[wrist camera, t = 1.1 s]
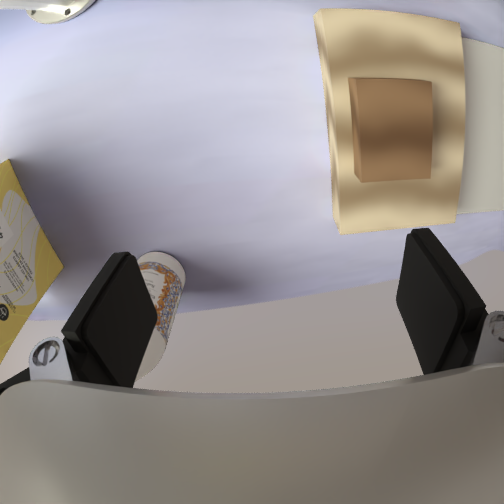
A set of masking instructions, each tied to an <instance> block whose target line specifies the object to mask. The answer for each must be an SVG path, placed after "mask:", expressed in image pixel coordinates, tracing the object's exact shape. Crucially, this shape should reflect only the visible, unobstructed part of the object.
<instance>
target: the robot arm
mask: <svg viewBox="0 0 504 504" xmlns="http://www.w3.org/2000/svg"><path fill="white" fill-rule="evenodd" d="M94 1H95V0H0V9H21V10H26V12H27V14H28V15H29V16H30V17H31V19H33V20H34V21H36V22H39V23H42V24H58V23H62V22H65V21H68V20H70V19H72V18H74V17H76V16H77V15H79V14H80V13H82V12H83V11H85V10H86V9H87V8H88V7H89V6H90V5H92V4H93V3H94ZM396 301H397V306H398V309H399V311H400V313H401V316H402V318H403V321H404V323H405V326H406V328H407V331H408V333H409V336H410V339H411V341H412V344H413V346H414V349H415V351H416V354H417V357H418V360H419V363H420V365H421V368H422V371H423V374H424V375H422V376H416V377H410V378H405V379H399V380H392V381H386V382H380V383H373V384H366V385H358V386H350V387H342V388H332V389H321V390H309V391H294V392H276V393H194V392H193V393H192V392H173V391H159V390H147V389H136V388H133V385H134V382H135V379H136V376H137V374H138V371H139V368H140V365H141V363H142V360H143V357H144V354H145V352H146V349H147V346H148V344H149V341H150V338H151V336H152V333H153V330H154V328H155V325H156V323H157V318H158V316H157V311H156V309H155V306H154V304H153V301H152V299H151V296H150V294H149V291H148V289H147V286H146V284H145V281H144V278H143V276H142V273H141V271H140V268H139V265H138V262H137V260H136V258H135V256H133V255H131V254H130V253H129V252H119V253H113V254H112V255H111V257H110V258H109V260H108V261H107V262H106V264H105V265H104V267H103V268H102V269H101V271H100V272H99V274H98V275H97V277H96V278H95V279H94V281H93V282H92V284H91V285H90V287H89V288H88V290H87V291H86V293H85V294H84V296H83V297H82V299H81V300H80V302H79V303H78V305H77V306H76V308H75V309H74V311H73V313H72V314H71V316H70V317H69V319H68V320H67V322H66V324H65V325H64V327H63V329H62V330H61V332H62V333H63V335H64V336H65V338H64V339H63V341H62V340H61V339H59V338H58V337H49V338H46V339H44V340H42V341H41V342H39V343H38V344H37V345H36V346H35V347H34V348H33V350H32V351H31V353H30V356H29V367H28V368H27V369H25V370H24V371H22V372H20V373H18V374H17V375H15V376H13V377H12V378H10V379H8V380H7V381H5V382H3V383H1V384H0V504H504V311H494V312H491V313H490V314H488V313H487V311H486V310H485V307H486V305H485V303H484V302H483V300H482V299H481V297H480V296H479V294H478V293H477V291H476V290H475V289H474V287H473V285H472V284H471V283H470V281H469V280H468V278H467V277H466V276H465V274H464V273H463V271H461V269H460V268H459V266H458V265H457V263H456V262H455V261H454V259H453V258H452V257H451V255H450V254H449V253H448V251H447V250H446V249H445V248H444V246H443V245H442V244H441V242H440V241H439V240H438V239H437V237H436V236H435V235H434V234H433V233H432V231H431V230H430V229H429V228H420V229H413V230H412V231H411V233H410V234H407V237H406V243H405V250H404V257H403V263H402V269H401V274H400V280H399V285H398V290H397V296H396Z"/></svg>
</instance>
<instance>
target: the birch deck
mask: <svg viewBox="0 0 504 504" xmlns="http://www.w3.org/2000/svg"><path fill="white" fill-rule="evenodd" d="M313 18H314V24H315V30H316V36H317V43H318V49H319V56H320V63H321V71H322V79H323V87H324V96H325V105H326V115H327V126H328V137H329V150H330V164H331V181H332V203H333V218H334V221H335V223H336V225H337V228H338V230H339V233H340V235H345V234H354V233H363V232H372V231H382V230H391V229H401V228H410V227H420V226H429V225H439V224H449V223H455V220H456V214H457V207H458V201H459V193H460V186H461V177H462V167H463V156H464V140H465V73H464V58H463V47H462V38H461V30H460V23H457V22H453V21H448V20H443V19H438V18H433V17H427V16H421V15H415V14H408V13H400V12H391V11H380V10H366V9H320V10H319V11H318V12H317V13H316V14H315V15H314V16H313ZM348 78H403V79H419V80H425V81H431V82H432V99H433V142H432V165H431V179H412V180H395V181H380V182H367V183H361V182H360V180H359V179H358V178H357V177H356V175H355V174H354V153H353V134H352V119H351V106H350V94H349V84H348Z"/></svg>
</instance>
